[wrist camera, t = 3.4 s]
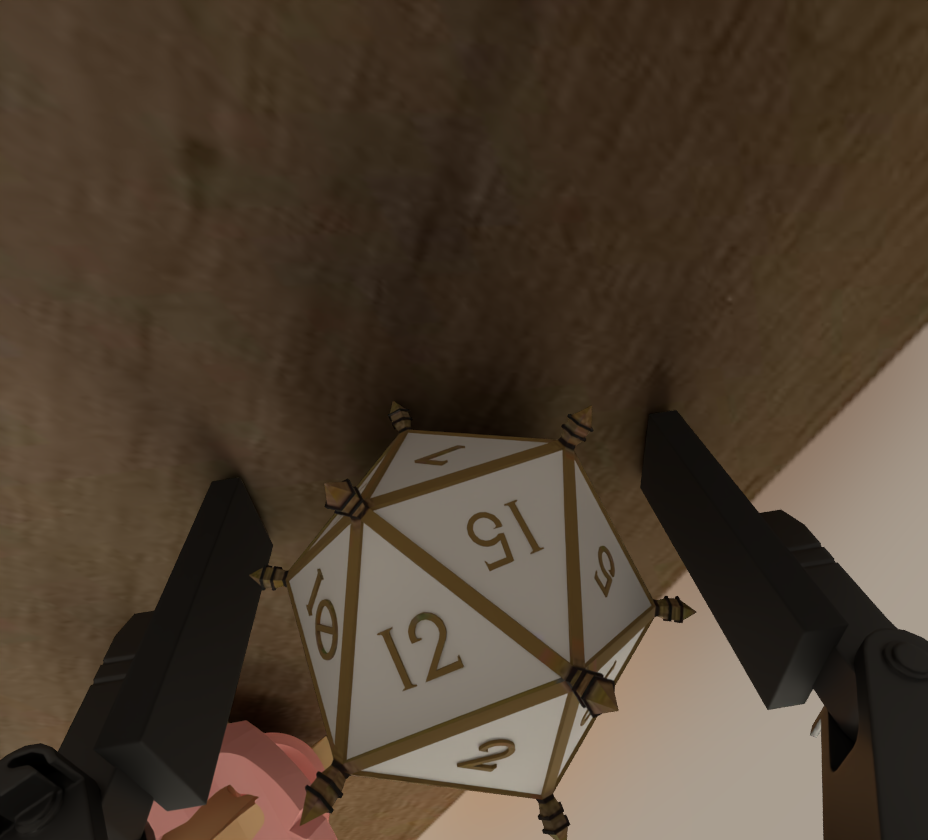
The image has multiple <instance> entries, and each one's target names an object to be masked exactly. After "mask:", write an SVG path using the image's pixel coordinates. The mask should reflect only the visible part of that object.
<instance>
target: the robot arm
mask: <svg viewBox="0 0 928 840" xmlns="http://www.w3.org/2000/svg"><path fill="white" fill-rule="evenodd" d="M640 488H641V490H642V491H643V493H644V495H645V497H646V498H647V500H648V502H649V504H650V505H651V507H652V509H653V511H654V512H655V514H656V516H657V518H658V519H659V521H660V523H661V525H662V526H663V528H664V530H665V532H666V533H667V535H668V537H669V539H670V540H671V542H672V544H673V546H674V547H675V549H676V551H677V552H678V554H679V556H680V558H681V559H682V561H683V563H684V565H685V566H686V568H687V570H688V572H689V573H690V575H691V577H692V579H693V580H694V582H695V584H696V586H697V587H698V589H699V591H700V593H701V594H702V596H703V598H704V600H705V601H706V603H707V605H708V607H709V608H710V610H711V612H712V614H713V615H714V617H715V619H716V621H717V622H718V624H719V626H720V628H721V629H722V631H723V633H724V635H725V636H726V638H727V640H728V641H729V643H730V645H731V647H732V648H733V650H734V652H735V654H736V655H737V657H738V659H739V661H740V662H741V664H742V666H743V667H744V669H745V671H746V673H747V675H748V676H749V678H750V680H751V682H752V683H753V685H754V687H755V689H756V690H757V692H758V694H759V696H760V697H761V699H762V701H763V703H764V704H765V706H766V708H767V710H770V709H776V708H781V707H788V706H794V705H800V704H804V703H805V702H806V700H807V699H808V697H809V695H810V693H811V691H812V690H813V689H814V690H815V692H816V693H817V695H818V696H819V698H820V699H821V701H822V702H823V704H824V707H823V709H822V711H821V712H820V714H819V715H818V717H817V719H816V720H815V722H814V724H813V725H812V729H811V733H810V735H811V736H813V737H815V738H817V736H818V735H819V733H820V731H821V742H822V743H821V744H822V788H823V833H824V834H823V836H824V840H928V641H927V640H925V639H924V638H922V637H920V636H917V635H915V634H913V633H910V632H908V631H905V630H900V629H897V628H896V627H895V626H894V625H893V624H892V623H891V622H890V621H889V620H888V619H887V618H886V617H885V616H884V614H882V612H881V611H880V610H879V609H878V608H877V607H876V605H875V604H874V603H873V602H872V601H871V600H870V599H869V597H868V596H867V595H866V594H865V593H864V592H863V591H862V590H861V588H860V587H859V586H858V585H857V584H856V583H855V582H854V581H853V579H852V578H851V577H850V576H849V575H848V574H847V573H846V571H845V570H844V569H843V568H842V567H841V566H840V565H839V564H838V563H836V562H835V561H834V558H833V557H832V556H831V554H830V553H829V552H828V551H827V550H826V549H825V548H824V547H821V543H820V542H819V541H818V540H817V539H816V538H815V536H814V535H813V534H812V533H811V532H810V531H809V530H808V528H807V527H806V526H805V525H804V524H803V523H801V522H799V521H798V520H796V519H795V518H793V517H792V516H790V515H789V514H787V513H786V512H784V511H782V510H776V511H770V512H763V513H759V512H758V511H757V510H756V509H755V507H754V506H753V505H752V504H751V502H750V501H749V500H748V499H747V497H746V496H745V495H744V494H743V492H742V491H741V490H740V489H739V487H738V486H737V485H736V484H735V482H734V481H733V480H732V479H731V477H730V476H729V475H728V474H727V473H726V471H725V470H724V469H723V468H722V466H721V465H720V464H719V463H718V461H717V460H716V459H715V458H714V456H713V455H712V454H711V453H710V451H709V450H708V449H707V448H706V446H705V445H704V444H703V443H702V441H701V440H700V439H699V438H698V436H697V435H696V434H695V433H694V432H693V430H692V429H691V428H690V427H689V425H688V424H687V423H686V422H685V420H684V419H683V418H682V417H681V415H680V414H679V413H678V412H677V410H674V411H667V412H661V413H654V414H649V420H648V428H647V436H646V445H645V453H644V461H643V470H642V478H641V486H640ZM272 548H273V544H272V542H271V540H270V538H269V536H268V534H267V532H266V530H265V528H264V526H263V523H262V521H261V519H260V517H259V515H258V513H257V511H256V509H255V507H254V505H253V503H252V501H251V499H250V497H249V495H248V493H247V490H246V488H245V486H244V484H243V482H242V480H241V478H240V477H239V478H232V479H226V480H219V481H213V482H211V485H210V487H209V489H208V491H207V494H206V496H205V498H204V500H203V503H202V505H201V507H200V509H199V512H198V514H197V516H196V518H195V521H194V523H193V525H192V527H191V530H190V532H189V534H188V536H187V539H186V541H185V543H184V545H183V548H182V550H181V552H180V554H179V557H178V559H177V561H176V563H175V566H174V568H173V570H172V573H171V575H170V577H169V579H168V582H167V584H166V586H165V588H164V591H163V593H162V595H161V597H160V600H159V602H158V604H157V606H156V609H155V611H150V612H143V613H137V614H134V615H133V616H132V617H131V618H130V620H129V621H128V622H127V623H126V624H125V625H124V626H123V628H122V629H121V630H120V631H119V632H118V633H117V634H116V636H115V637H114V639H113V641H112V643H111V645H110V647H109V649H108V651H107V653H106V655H105V657H104V659H103V661H104V663H103V665H101V666H100V668H99V670H98V672H97V674H96V676H95V678H94V684H93V685H91V686H90V688H89V690H88V692H87V694H86V696H85V698H84V700H83V702H82V704H81V706H80V708H79V710H78V712H77V714H76V716H75V718H74V720H73V722H72V724H71V726H70V728H69V730H68V732H67V734H66V736H65V738H64V741H63V743H62V745H61V747H60V749H59V751H58V752H57V751H56V750H55V749H53V748H52V747H50V746H47V745H44V744H41V743H40V744H34V745H28V746H24V747H22V748H20V749H18V750H16V751H14V752H12V753H10V754H8V755H6V756H5V757H4V758H3V759H1V760H0V840H156V838H155V834H154V831H153V829H152V827H151V826H150V824H149V822H148V821H147V819H148V816H149V813H150V810H151V807H152V804H153V801H155V802H156V803H158V804H159V805H160V806H161V807H162V808H164V809H165V810H166V811H173V810H179V809H185V808H191V807H196V806H202V805H206V804H207V800H208V796H209V792H210V789H211V785H212V781H213V777H214V773H215V769H216V765H217V761H218V758H219V754H220V750H221V746H222V742H223V738H224V734H225V730H226V726H227V723H228V719H229V715H230V711H231V707H232V703H233V699H234V695H235V691H236V688H237V684H238V680H239V676H240V672H241V668H242V664H243V660H244V657H245V653H246V649H247V645H248V641H249V637H250V633H251V629H252V625H253V622H254V618H255V614H256V610H257V606H258V602H259V598H260V594H261V591H262V588H261V586H260V585H259V584H258V583H257V582H256V581H255V580H254V579H253V578H251V577H250V576H249V575H250V574H252V573H254V572H256V571H257V570H259V569H261V568H263V567H264V565H268V563H269V559H270V556H271V552H272Z"/></svg>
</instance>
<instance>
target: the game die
mask: <svg viewBox="0 0 928 840" xmlns="http://www.w3.org/2000/svg"><path fill="white" fill-rule="evenodd" d="M409 412H410V410H409V409H405V408H403V407H402V406H400V405H399V404H397V403H396V402H394V401H393V403H392V407H391V411H390V414H388V416H389V418H390V420H391V421H393V422H392V425H393V427H394V429H397V430H398V432H399V434H398V436H397V437H396V438H395V439H394V441H393V442H392V443H391V444H390V446H389V447H388V448H387V449H386V451H385V452H384V453H383V454H382V456H381V457H380V458H379V459H378V461H377V462H376V463H375V464H374V465H373V467H372V468H371V469H370V470H369V472H368V473H367V474H366V475H365V477H364V478H363V479H362V480H361V482H360V483H359V484H358V485H357V487H356V486H355V487H353V486H352V484H351V482H350V480H349V479H346V480H344V481H342V482H335V483H324V486H325V492H326V499H327V500H326V504H325V507H326V508H328V509H333V510H335V514H334V515H333V516H332V518H331V519H330V520H329V521H328V523H327V524H326V525H325V526H324V527H323V529H322V530H321V531H320V532H319V534H318V535H317V536H316V537H315V539H314V540H313V541H312V542H311V544H310V545H309V546H308V547H307V549H306V550H305V551H304V552H303V554H302V555H301V556H300V557H299V559H298V560H297V561H296V562H295V563H294V565H293V566H292V567H291V568H290V570H289V571H284V570H282V567H276V566H274V568H272V566H269V565H264V567H263V568H261V569H259V570H257V571H256V572H254V573H252V574H250V575H249V576H250V577H251V578H253V579H254V580H255V581H256V582H257V583H258V584H259V585H260V586H261V588H262V590H265V589H266V588H272V590H276V588H278V587H282V586H285V587H287V589H288V592H289V596H290V600H291V604H292V607H293V611H294V615H295V618H296V622H297V626H298V630H299V633H300V637H301V641H302V644H303V648H304V652H305V656H306V659H307V663H308V667H309V670H310V674H311V678H312V682H313V685H314V689H315V693H316V696H317V700H318V704H319V708H320V711H321V715H322V719H323V722H324V726H325V730H326V734H327V737H328V741H329V745H330V748H331V752H332V756H333V761H332V764H331V765H330V766H329V767H328V768H327V769H325V770H324V771H323V772H320V771H318V772H317V773H316V776H317V778H316V779H315V781H314V782H313V783H312V784H311V785H310V786H309V785H306V786H305V790H306V797H305V802H304V807H303V812H302V817H301V821H300V826H301V825H303V824H305V823H307V822H309V821H311V820H313V819H315V818H317V817H319V816H321V815H323V814H325V813H331V814H332V812H333V808H332V806H333V804H334V803H335V801H336V800H337V798H341V797H342V796H343V793H342V792H341V791H342V788H343V786H344V783H345V780H346V779H347V778H348V777H349V776H357V777H365V778H373V779H381V780H389V781H397V782H405V783H413V784H421V785H429V786H437V787H445V788H453V789H461V790H469V791H477V792H485V793H493V794H501V795H509V796H517V797H525V798H533V799H536V800H537V801H538V803H539V809H540V814H539V815H538V819H539V820H542V822H543V826H544V829H543V830H542V831H543V833H544V834H549V835H550V836H551V837H552V838H553V839H555V840H567V830H568V826H569V825H570V823H569V820H568V818H567V816H566V815H563V812H564V809H563V807H562V804H561V802H557V800H556V799H555V797H554V795H553V792H554V791H555V789H556V787H557V786H558V784H559V782H560V780H561V778H562V777H563V775H564V773H565V771H566V770H567V768H568V766H569V765H570V763H571V761H572V759H573V758H574V756H575V754H576V752H577V751H578V749H579V747H580V746H581V744H582V742H583V740H584V739H585V737H586V735H587V733H588V731H589V730H590V728H591V727H592V725H593V723H594V721H595V720H596V718H597V716H599V715H600V714H602V713H608V712H614V711H618V706H617V702H616V697H615V693H614V691H615V685H616V683H617V681H618V680H619V678H620V676H621V674H622V673H623V671H624V669H625V667H626V665H627V664H628V662H629V661H630V659H631V657H632V655H633V654H634V652H635V650H636V648H637V647H638V645H639V643H640V642H641V640H642V638H643V636H644V635H645V633H646V631H647V629H648V628H649V626H650V624H651V622H652V621H653V619H654V617H656V616H658V617H661V618H663V620H664V621H671V620H674V622H678V623H683V620H684V619H686V618H688V617H689V616H691V615H693V614H695V613H696V611H695V610H693V609H692V608H690V607H689V606H688V605H686V604H685V603H683V602H682V601H681V600H680V599H679V597H678V596H676V597H675V599H673V598H668V596H665V597H664V599H660V600H654V599H652V597H651V595H650V593H649V591H648V589H647V587H646V585H645V584H644V582H643V580H642V578H641V576H640V574H639V572H638V570H637V568H636V567H635V565H634V563H633V561H632V559H631V557H630V555H629V553H628V551H627V550H626V548H625V546H624V544H623V542H622V540H621V538H620V536H619V534H618V533H617V531H616V529H615V527H614V525H613V523H612V521H611V519H610V517H609V516H608V514H607V512H606V510H605V508H604V506H603V504H602V502H601V500H600V499H599V497H598V495H597V493H596V491H595V489H594V487H593V485H592V483H591V482H590V480H589V478H588V476H587V474H586V472H585V470H584V468H583V466H582V465H581V463H580V461H579V459H578V457H577V455H576V453H575V451H574V449H575V446H576V445H577V444H578V443H580V442H581V441H584V442H585V441H586V438H585V436H586V435H587V434H588V433H589V431H590V432H593V428H592V427H591V423H592V406H590V407H588V408H586V409H583V410H581V411H579V412H577V413H575V414H573V415H571V414H568V416H567V417H568V418H569V419H568V421H567V423H566V424H563V425H562V426H561V427H562V428H563V432H562V435H561V437H560V438H559V439H558V440H556V439H541V438H526V437H511V436H496V435H481V434H465V433H450V432H435V431H420V430H412V428H411V421H412V420H413V419H412V417H409V414H408V413H409Z"/></svg>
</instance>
